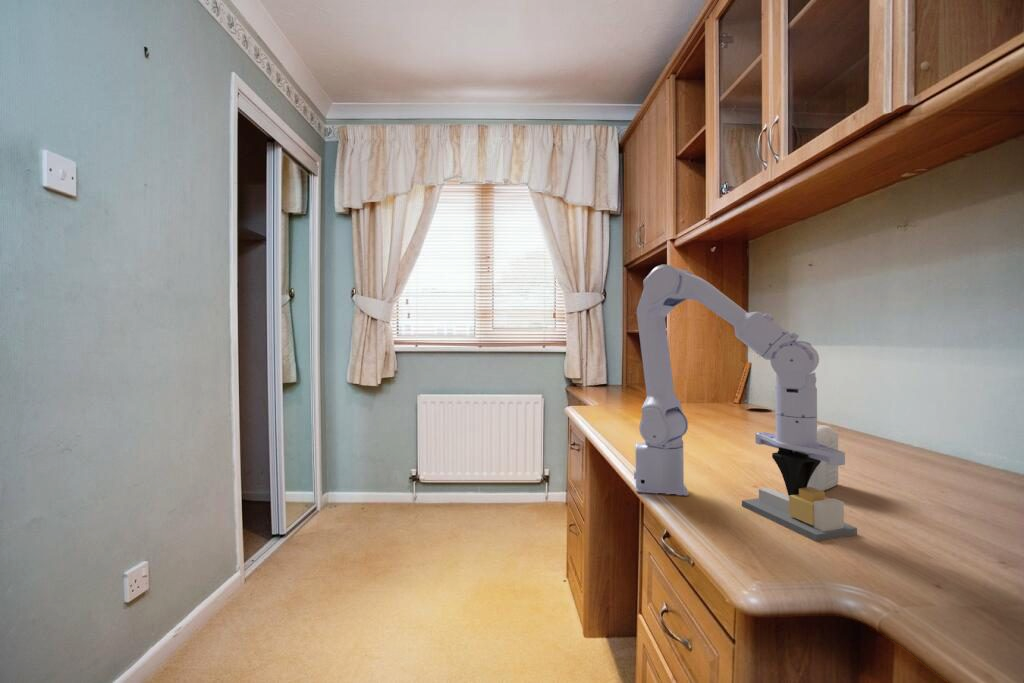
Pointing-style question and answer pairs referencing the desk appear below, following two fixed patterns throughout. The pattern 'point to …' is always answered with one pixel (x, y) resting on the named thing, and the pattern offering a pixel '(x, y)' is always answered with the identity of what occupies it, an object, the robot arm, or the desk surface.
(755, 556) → the desk surface
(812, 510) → the slider
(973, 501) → the desk surface
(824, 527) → the rail board
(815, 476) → the photo printer
